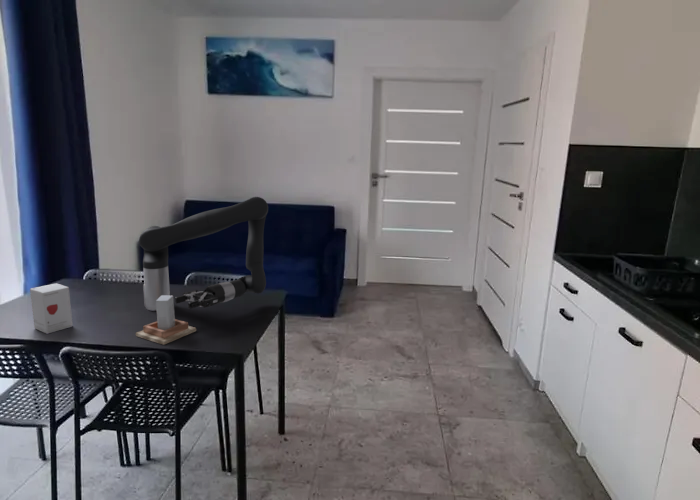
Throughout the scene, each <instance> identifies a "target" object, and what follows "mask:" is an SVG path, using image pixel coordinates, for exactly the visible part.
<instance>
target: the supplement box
mask: <svg viewBox="0 0 700 500" xmlns="http://www.w3.org/2000/svg"><path fill="white" fill-rule="evenodd" d="M29 290H30V291H29V292H30V299H31V301H30V302H31V310H32V319H33V326H34V327H33V328H34V329H35V330H38V331H40V332H42V333H44V334H51V333H55V332H59V331H61V330H65V329H67V328H72V327H73V315H72V314H73V313H72V306H71V295H70V287H69V286H66V285H63V284H60V283H57V282H56V283H51V284H47V285H46V284H45V285H42V286H37V287H31V288H29Z"/></svg>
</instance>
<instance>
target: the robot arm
mask: <svg viewBox="0 0 700 500" xmlns="http://www.w3.org/2000/svg"><path fill="white" fill-rule="evenodd" d="M268 213H269V204H268V203H267V201H266V200H265V199H264V198H262V197H260V196H253V197H250V198H248V199H246V200H243V201H241V202H239V203H236V204H234V205H231V206H230V205H229V206H226V207H225V206H224V207H220V208H214V209H210V210H205V211H202V212H199V213H196V214H193V215H191V216H188V217H185V218H184V219H182V220H180V221H177V222H176V223H173V224H172V223H171V224H169V225H166V226H165V225H164V226H158V225H151V226H149V227H147V228H146V229H144V230H143V231H142V232H141V234H140V235H139V238H138V243H139V245H140V247H141V249H143V258H142V270H143V281H144V284H143V285H142V289H143V302H144V307H145V309H146V310H147V311H153V312H154V311H155V312H157V310H156V300H157V299H158V298H159V297H160V296H161V295H171V291H170V277H169V246H172V245H174V244H177V243H181V242H183V241H184V242H186V241H189V240H195V239H197V238H202V237H206V236H209V235H213V234H215V233H219V232H221V231H223V230H225V229H228V228H230V227H232V226H234V225H236V224H240V223H245V222H248V232H247V233H248V235H247V242H246V243H247V244H246V251H245V252H246V254H245V267H246V269H247V270H248V271H250V273H251V275H250V274H249V275H244V276H241V277H239V278H237V279H235V280H229V281H225V282H219V283H215V284H211V285H208V286H206V287H205V289H204V291H202V290H201V291H198V289H195V290H191V291H186V292H185V291H184V292H182V295H180V296H175V298H174V303H175V304H180V303H184V302H188V303H187V307H188V309H189V310H190V309H191V310H192V309H195V308H198V307H200V308H202V307H203V308H205V309H206V308H208V307H213V306H215V305H218V304H222V303H226V302H229V301H231V300H234V299H239V298H241V297H243V296H244V295H245V294H246V293H252V294H262V293H264V291H265V289H266V287H267V280H266V279H267V278H266V273H265V269H264V249H265V248H264V232H265V230H264V229H265V225H266V224H265V222H266V218H267V215H268Z"/></svg>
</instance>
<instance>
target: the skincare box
mask: <svg viewBox="0 0 700 500" xmlns="http://www.w3.org/2000/svg"><path fill="white" fill-rule="evenodd" d="M174 303H175V299H174V295H171V294H170V295H161V296H160V297H159V298H158V299H157V300H156V310H157V311H156V318H157V319H156V321H157V323H158V329H161V330H167V329H169V328H172V327H174V326H175V319H176V318H175V304H174Z"/></svg>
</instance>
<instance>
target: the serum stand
mask: <svg viewBox="0 0 700 500" xmlns="http://www.w3.org/2000/svg"><path fill="white" fill-rule="evenodd" d="M142 328H143V329H142V330H139V331H137V332H135V337H138V338H142V339H143V340H144V339H145V340H147V341H150V342H153V343H157V344H158V345H159V344H160V345H166V344H169V343H172V342H174V341H176V340H179V339H181V338H183V337H185V336H188V335H190V334H193V333H194V332H197V328H196V327H193V326H191V325H189V322H188V321H184V320H179V319H176V318H175V326H174V327H172V328H169V329H167V330H161V329H158V323H157V320H156V321H154V322H151V323H148V324H145V325H143V327H142Z"/></svg>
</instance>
